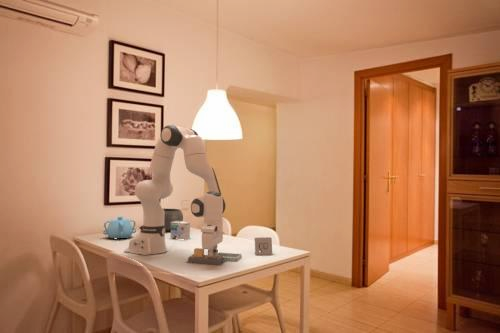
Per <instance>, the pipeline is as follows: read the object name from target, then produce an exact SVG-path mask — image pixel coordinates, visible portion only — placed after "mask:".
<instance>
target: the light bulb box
mask: <svg viewBox="0 0 500 333" xmlns="http://www.w3.org/2000/svg"><path fill="white" fill-rule="evenodd" d="M190 232H191V222H190V221H184V220H183V221H174V222H171V231H170V236H169V237H170V238H177V239H176V240H178V239H184V240H183V241H186V240H189V239H190V238H191V236H190V235H191V234H190ZM188 238H189V239H188ZM185 239H186V240H185Z"/></svg>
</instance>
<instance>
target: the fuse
mask: <svg viewBox="0 0 500 333" xmlns="http://www.w3.org/2000/svg"><path fill="white" fill-rule="evenodd" d="M193 249H194V250H193V254H194V257H204V255H205V249H203V248H202V247H201V248H200V247H198V248H197V247H196V248H193Z"/></svg>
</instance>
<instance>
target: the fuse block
mask: <svg viewBox="0 0 500 333" xmlns="http://www.w3.org/2000/svg"><path fill="white" fill-rule="evenodd" d="M223 257H224V256H218V258H208V254H204V257H194V253H193V254H191V255H190V256H188V259H187V261H185V262H184V263H186V264H196V265H207V266H208V265H210V266H217V267H218V266H220V267H221V266H223V264H225V263H227V261H223Z"/></svg>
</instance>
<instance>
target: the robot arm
mask: <svg viewBox="0 0 500 333" xmlns="http://www.w3.org/2000/svg"><path fill="white" fill-rule="evenodd" d="M179 148H180V149H182V151H183V156H184V157H183V158H184V165H185V167H186V169H187V171H188V172H190V173H191V174H193V175H195V176H198V177H199V178H201V179H203V180H204V181H205V183H206V186H207V189H208V191H207V192H206V193H205V194H204V195H201V196H199V197H197V198H196V197H195V198H194V199H193V200H192V201H191V203H190V211H191V214H192V215H193V216H194V217H196V218H204V219H203V220H204V221H203V225H202V226H201V227H200V232H201V248H202V249H204V250H207V251H208V250H209V256H213V255H214V252H213V249H215V250H218V245H220V244H221V243H222V242H223V241H224V240H223V239H224V237H223V236H224V234H223V233H224V230H223V229H224V228H223V224H224V221H223V220H224V219H223V214H224V212H225V210H226V202H225V199H224V197H223V195H222V192H221V189H220V185H219V182H218V179H217V175H216V172H215V170H214V168H213V167H212V166H211V165H210V162H209V161H208V157H207V152H206V148H205V143H204V142H203V138H202V137H201V136H200V135H199V134H198V132H197V131H195V130H194V129H192V128H188V127H185V126H179V125H174V124H172V125H171V124H168V125H166V126H164V127H163V128H162V129H161V132H160V137H159V138H158V139H157V142H156V144H155V146H154V149H153V153H152V157H151V161H150V165H149V168H150V170H151V172H152V178H151V179H144V180H141V181H140V182H138V183H137V184H136V185H135V187H134V194H135V196H136V198H137V199H138V200H139V202H140V204H141V206H142V211H143V212H142V213H143V224H142V225H141V226H139V228H138V230H140V231H139V232H138V233H137V234H136V235H135V236H133V237H132V238H131V239H130V240H129V243H128V247H126V248H125V249H124V253H128V252H129V253H128V254H136V255H143V256H148V255H156V254H162V253H165V252H167V251H168V250H167V249H168V248H167V245H166V238H165V237H166V236H165V234H166V231H165V225H164V216H165V212H164V209H165V208H163V207H162V204H161V202H160V200H161V199H162V200H163V199H166V198H168V197H170V196H171V195H172V193H173V191H174V186H173V184H172V183H171V171H172V166H173V164H174V163H173V162H174V158H175V155H176V154H175V153H176V151H177V149H179Z"/></svg>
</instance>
